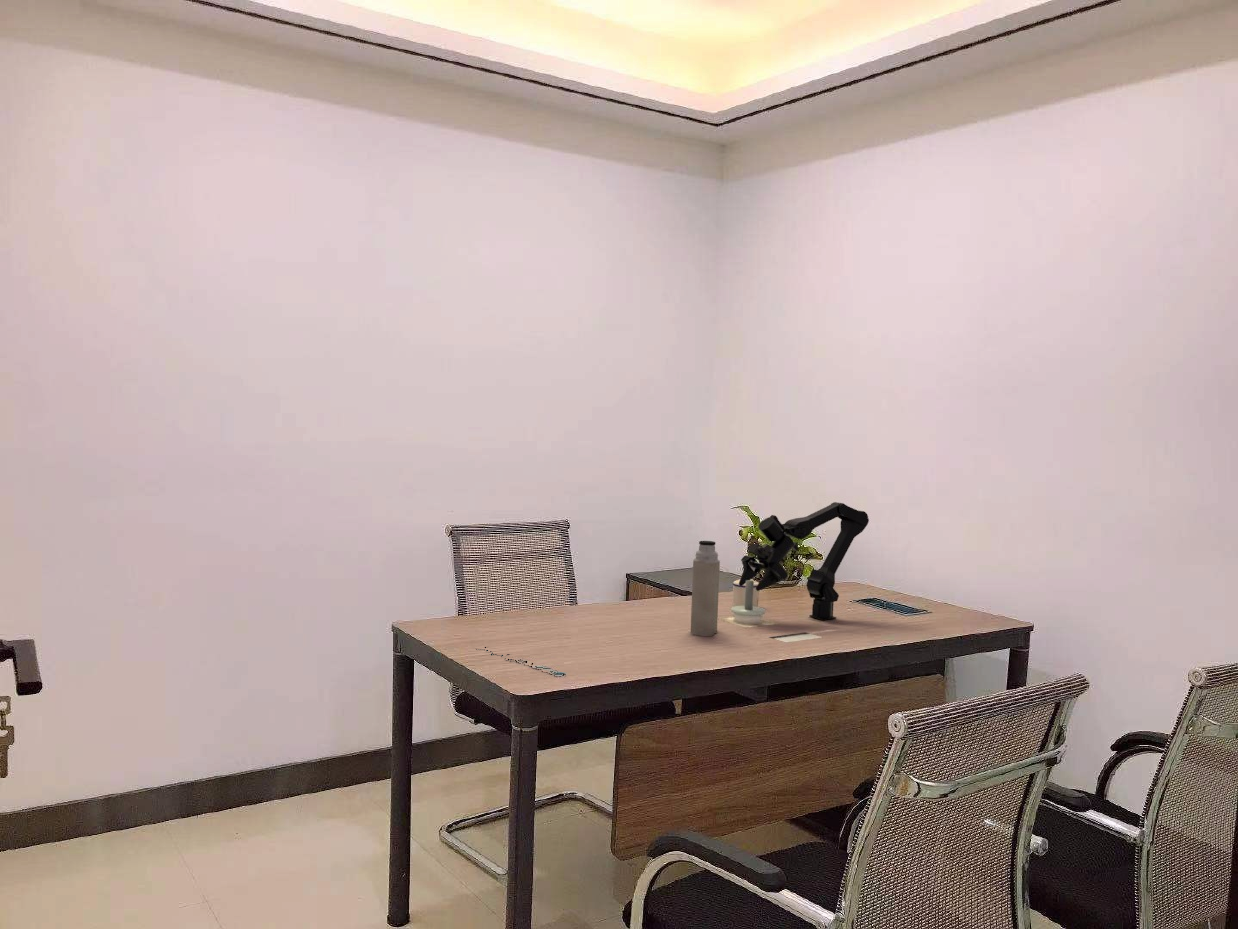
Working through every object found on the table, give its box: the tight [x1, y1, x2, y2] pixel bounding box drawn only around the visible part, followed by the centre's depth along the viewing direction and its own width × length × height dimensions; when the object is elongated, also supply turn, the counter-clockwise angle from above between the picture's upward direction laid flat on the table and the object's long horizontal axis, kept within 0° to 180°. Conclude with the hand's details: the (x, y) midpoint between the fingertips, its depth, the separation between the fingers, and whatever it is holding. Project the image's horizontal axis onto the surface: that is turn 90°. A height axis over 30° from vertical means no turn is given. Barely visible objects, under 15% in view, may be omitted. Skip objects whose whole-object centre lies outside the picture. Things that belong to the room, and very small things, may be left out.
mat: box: [768, 632, 823, 643], centre depth 310 cm, size 15×15×1 cm
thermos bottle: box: [690, 540, 721, 637], centre depth 309 cm, size 8×8×28 cm
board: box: [717, 616, 780, 629], centre depth 325 cm, size 14×14×1 cm
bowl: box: [733, 613, 764, 624], centre depth 325 cm, size 9×9×3 cm
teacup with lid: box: [732, 578, 760, 607], centre depth 351 cm, size 12×9×12 cm
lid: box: [730, 580, 767, 615], centre depth 324 cm, size 11×11×10 cm
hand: (748, 587), depth 324 cm, fingers open, 9 cm apart
